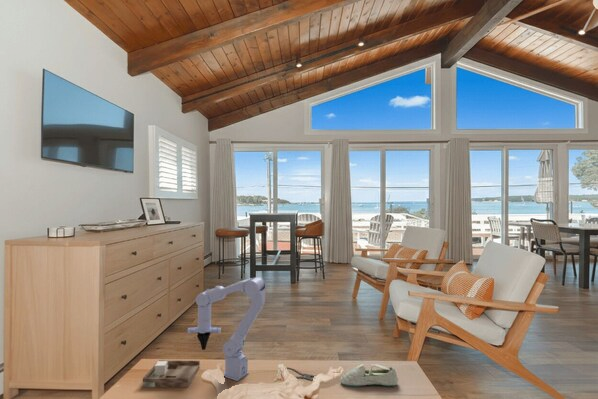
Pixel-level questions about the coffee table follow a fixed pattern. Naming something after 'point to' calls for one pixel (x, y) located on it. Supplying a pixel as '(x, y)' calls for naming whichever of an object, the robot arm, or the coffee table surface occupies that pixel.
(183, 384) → the wooden tray
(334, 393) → the coffee table surface
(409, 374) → the coffee table surface
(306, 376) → the pliers
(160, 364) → the cream block
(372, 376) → the ballet flat
